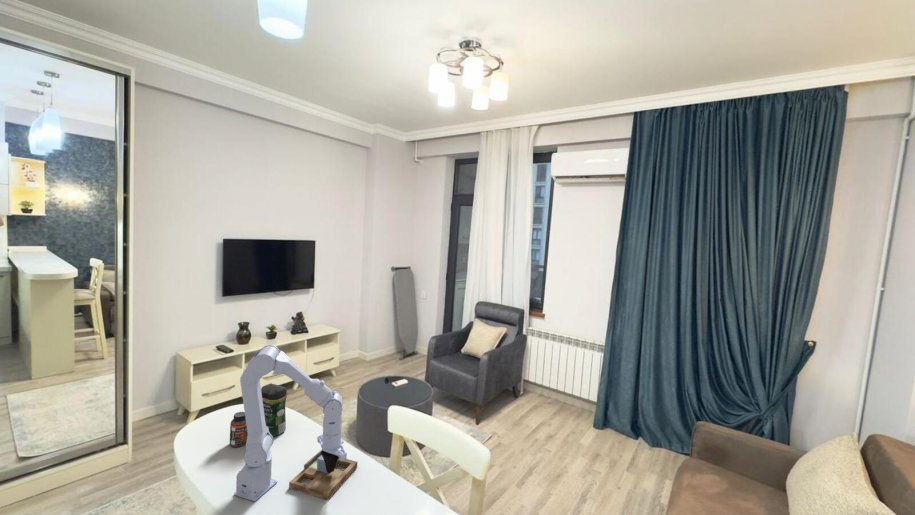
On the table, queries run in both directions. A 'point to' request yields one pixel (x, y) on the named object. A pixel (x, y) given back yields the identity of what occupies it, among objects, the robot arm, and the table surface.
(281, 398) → the coffee jar
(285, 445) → the table surface
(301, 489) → the brown compartment tray
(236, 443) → the supplement bottle
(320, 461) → the slate block
